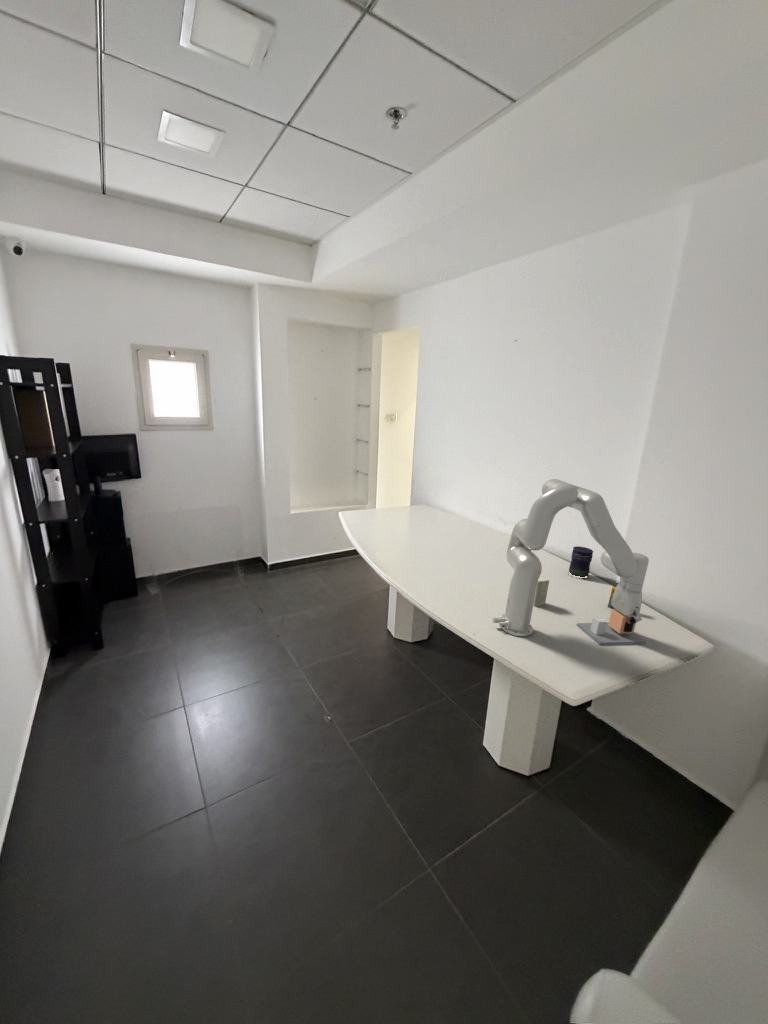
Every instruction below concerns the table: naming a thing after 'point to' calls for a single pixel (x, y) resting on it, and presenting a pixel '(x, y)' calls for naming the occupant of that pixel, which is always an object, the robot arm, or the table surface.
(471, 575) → the table surface
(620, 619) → the tan matte cube
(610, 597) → the crayon box
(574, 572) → the storage jar
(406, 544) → the table surface
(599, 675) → the table surface
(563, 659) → the table surface
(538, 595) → the skincare box
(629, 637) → the board
